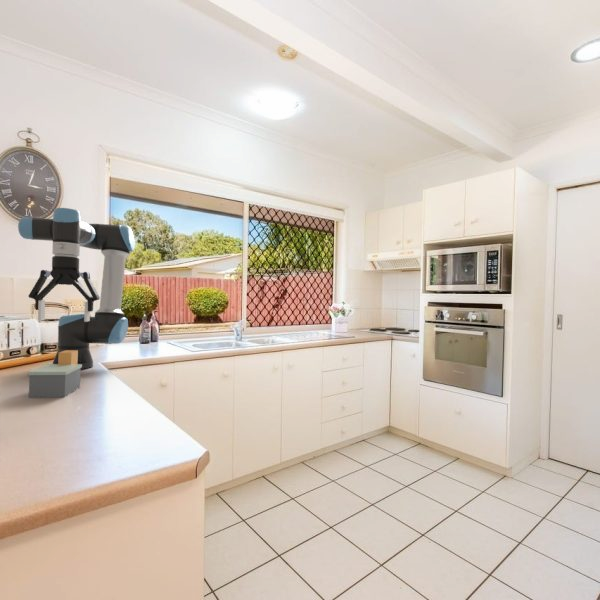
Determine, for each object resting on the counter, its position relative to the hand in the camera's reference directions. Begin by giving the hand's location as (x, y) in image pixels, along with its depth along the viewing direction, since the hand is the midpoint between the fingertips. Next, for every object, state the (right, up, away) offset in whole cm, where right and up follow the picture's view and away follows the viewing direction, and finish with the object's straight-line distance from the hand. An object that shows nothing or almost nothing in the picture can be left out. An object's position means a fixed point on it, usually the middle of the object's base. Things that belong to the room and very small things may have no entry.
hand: (64, 320), depth 121 cm
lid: (-2, -17, +1) cm, 17 cm away
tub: (-2, -23, -2) cm, 23 cm away
